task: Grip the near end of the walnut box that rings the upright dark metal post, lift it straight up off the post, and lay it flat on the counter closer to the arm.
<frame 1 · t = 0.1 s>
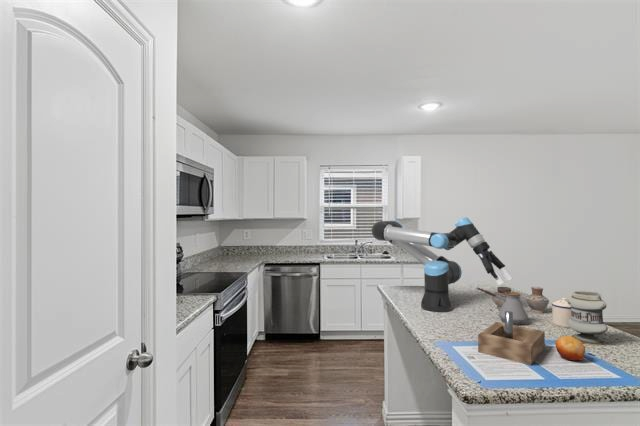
hand: (505, 281, 168), 15 cm above the counter, tool tilted 35°, fingers open, 13 cm apart
coffee pot: (500, 322, 155), on the counter
pottery: (519, 310, 174), on the counter
metal post: (509, 352, 120), on the counter
teacup with lid: (563, 324, 152), on the counter
apothecary jar: (587, 340, 132), on the counter
fruit: (569, 359, 115), on the counter
walnut box: (511, 349, 123), on the counter
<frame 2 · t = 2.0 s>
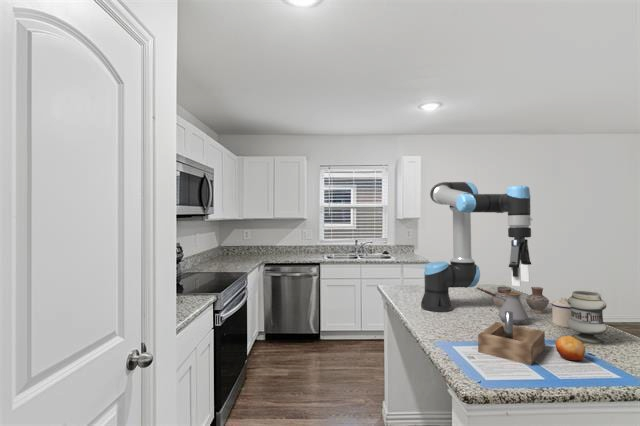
hand: (520, 283, 131), 22 cm above the counter, tool pointing down, fingers open, 13 cm apart
nothing on the counter moved.
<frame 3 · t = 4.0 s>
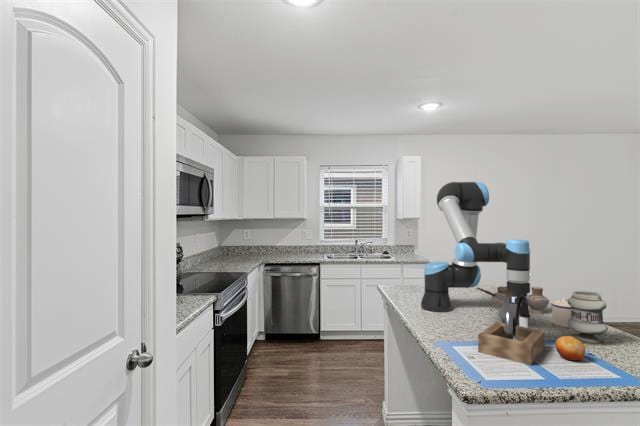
hand: (518, 339, 129), 2 cm above the counter, tool pointing down, fingers open, 13 cm apart
nothing on the counter moved.
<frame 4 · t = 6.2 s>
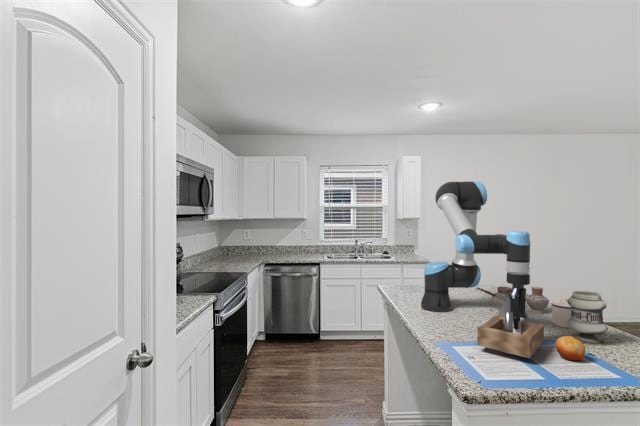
hand: (518, 336, 129), 3 cm above the counter, tool pointing down, fingers closed on walnut box, 3 cm apart
walnut box: (511, 343, 123), point 2 cm above the counter, touching gripper
everything else where it was.
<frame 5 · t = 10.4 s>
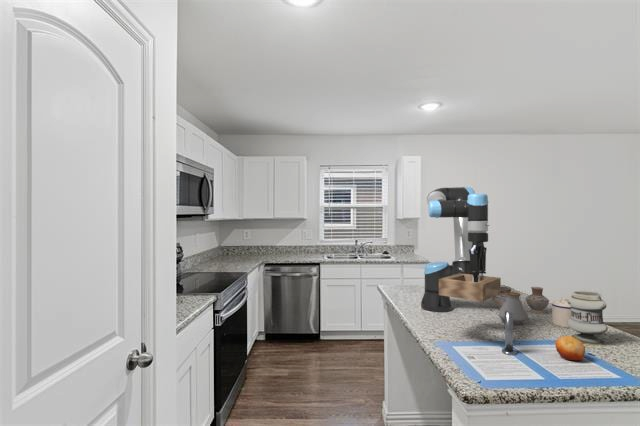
hand: (478, 290, 140), 17 cm above the counter, tool pointing down, fingers closed on walnut box, 3 cm apart
walnut box: (470, 294, 134), point 17 cm above the counter, touching gripper
everything else where it was.
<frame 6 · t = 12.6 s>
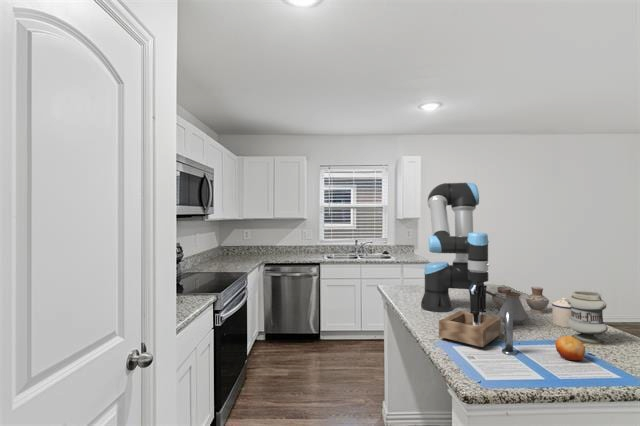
hand: (478, 329, 140), 1 cm above the counter, tool pointing down, fingers closed on walnut box, 3 cm apart
walnut box: (470, 335, 134), point 1 cm above the counter, touching gripper
everything else where it was.
when the fingers open (0 cm above the counter, at t = 14.6 s): walnut box stays where it is, on the counter.
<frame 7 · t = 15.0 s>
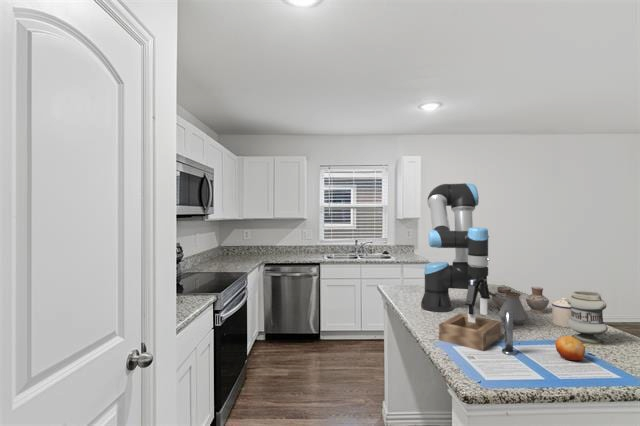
hand: (478, 318, 141), 6 cm above the counter, tool pointing down, fingers open, 13 cm apart
walnut box: (470, 338, 134), on the counter
everything else where it was.
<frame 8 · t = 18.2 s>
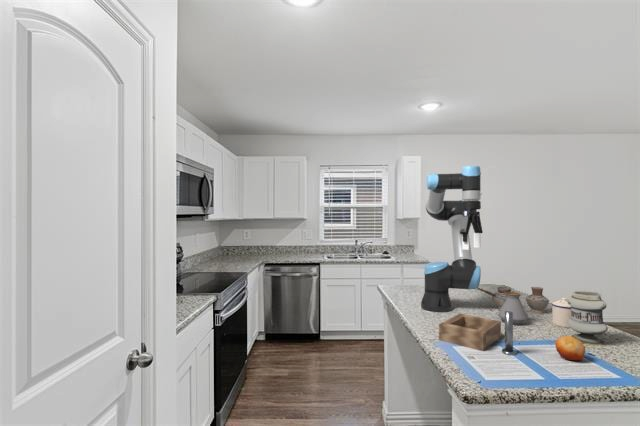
hand: (471, 248, 155), 33 cm above the counter, tool pointing down, fingers open, 13 cm apart
nothing on the counter moved.
at the end: walnut box inside the target area (0.1 cm from its centre), on the counter; walnut box tilted 0°; the gripper is holding nothing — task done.
